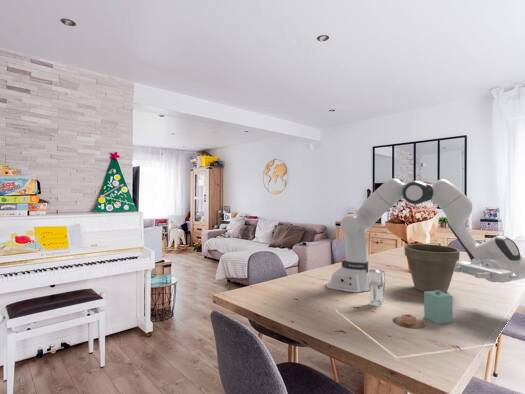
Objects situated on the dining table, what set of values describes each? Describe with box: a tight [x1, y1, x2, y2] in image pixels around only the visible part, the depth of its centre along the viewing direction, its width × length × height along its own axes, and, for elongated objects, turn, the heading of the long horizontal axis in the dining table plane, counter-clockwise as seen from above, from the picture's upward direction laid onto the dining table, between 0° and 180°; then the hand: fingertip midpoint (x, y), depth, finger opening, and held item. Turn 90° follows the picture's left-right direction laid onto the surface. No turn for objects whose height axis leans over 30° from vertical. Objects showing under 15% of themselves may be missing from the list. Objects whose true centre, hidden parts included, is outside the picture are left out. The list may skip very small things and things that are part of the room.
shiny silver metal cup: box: [368, 268, 386, 307], centre depth 134 cm, size 7×7×15 cm
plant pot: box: [404, 243, 461, 293], centre depth 156 cm, size 25×25×22 cm
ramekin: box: [401, 313, 417, 325], centre depth 113 cm, size 3×3×2 cm
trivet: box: [392, 316, 426, 330], centre depth 113 cm, size 11×11×1 cm
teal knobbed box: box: [423, 290, 453, 324], centre depth 116 cm, size 7×7×11 cm
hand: (465, 272), depth 119 cm, fingers open, 8 cm apart
